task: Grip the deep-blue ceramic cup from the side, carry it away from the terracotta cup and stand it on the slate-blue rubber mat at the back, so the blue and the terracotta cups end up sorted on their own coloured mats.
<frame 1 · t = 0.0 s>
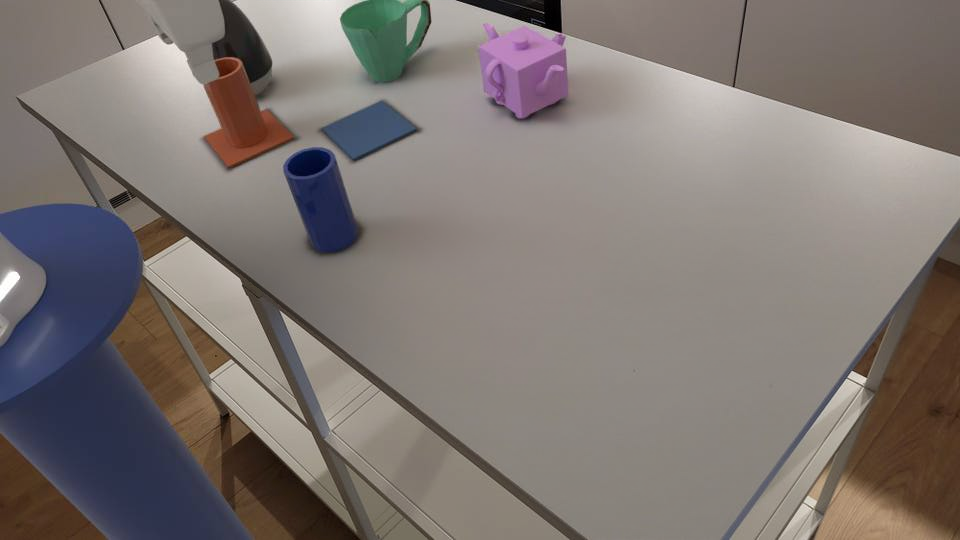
hand: (189, 58, 65), 29 cm above the table, tool pointing down, fingers open, 8 cm apart
teapot: (530, 100, 107), on the table
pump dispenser: (248, 92, 119), on the table
terracotta mat: (248, 138, 109), on the table
terracotta cup: (248, 136, 109), resting on terracotta mat
mug: (399, 68, 118), on the table
blue mat: (368, 130, 107), on the table
blue cup: (334, 236, 91), on the table
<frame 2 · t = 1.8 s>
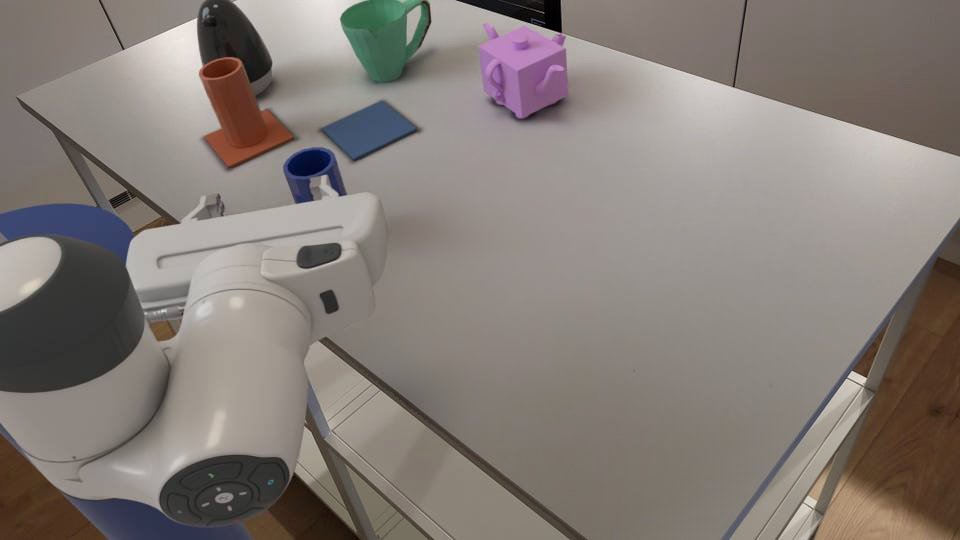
hand: (267, 191, 65), 20 cm above the table, tool horizontal, fingers open, 8 cm apart
nothing on the table moved.
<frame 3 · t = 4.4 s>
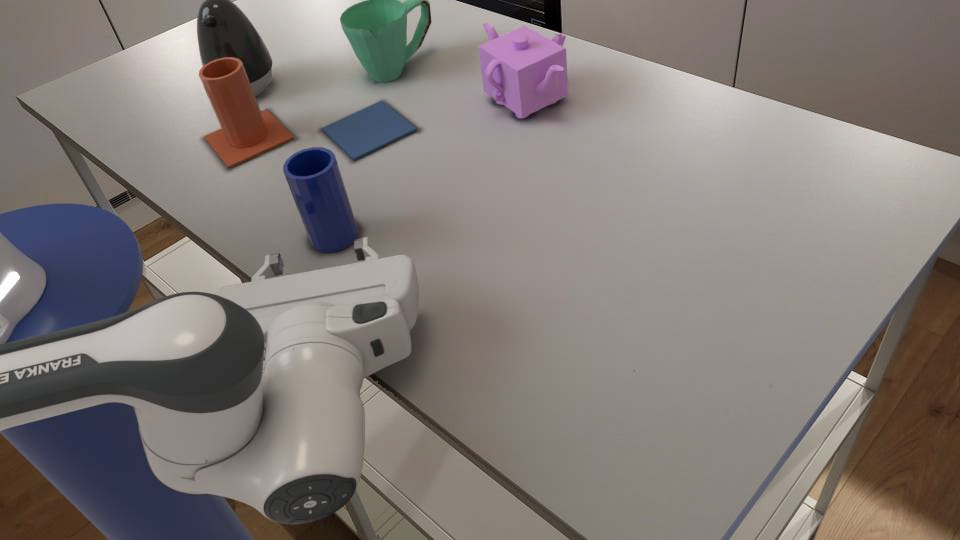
hand: (318, 250, 80), 6 cm above the table, tool horizontal, fingers open, 8 cm apart
nothing on the table moved.
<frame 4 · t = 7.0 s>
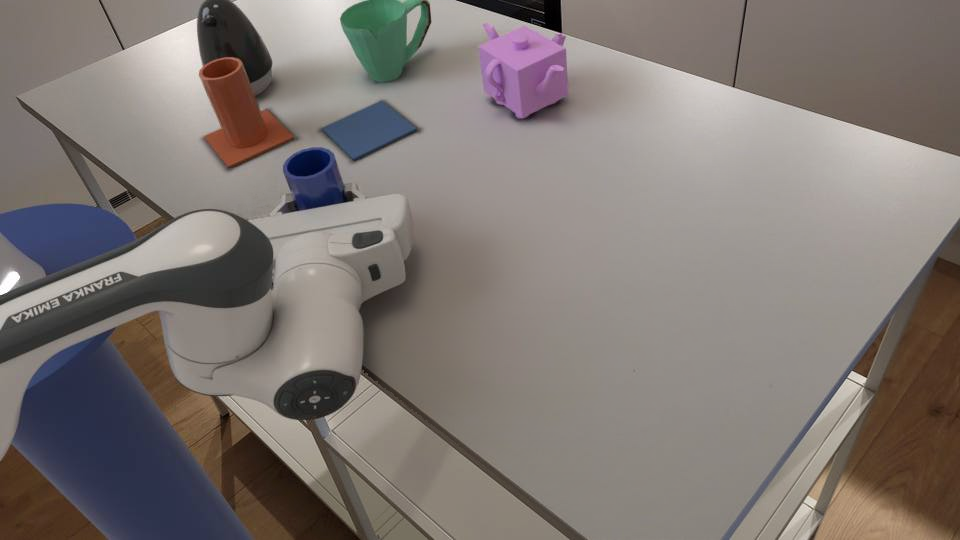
hand: (321, 192, 88), 6 cm above the table, tool horizontal, fingers closed on blue cup, 6 cm apart
blue cup: (334, 236, 91), on the table, touching gripper
everything else where it was.
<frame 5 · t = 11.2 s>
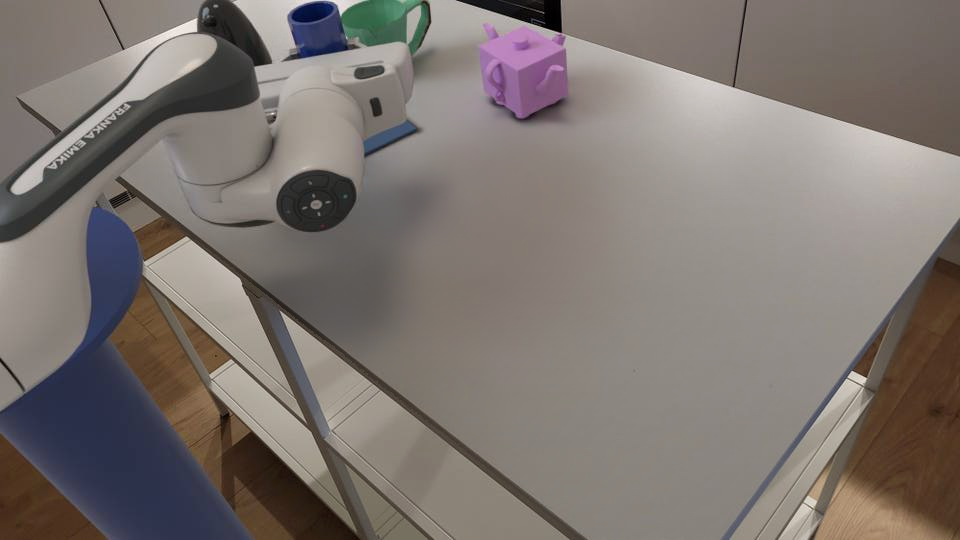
hand: (324, 48, 89), 17 cm above the table, tool horizontal, fingers closed on blue cup, 6 cm apart
blue cup: (337, 96, 93), point 11 cm above the table, touching gripper
everything else where it was.
when the fingers open (6 cm above the table, at t = 15.6 s): blue cup stays where it is, resting on blue mat.
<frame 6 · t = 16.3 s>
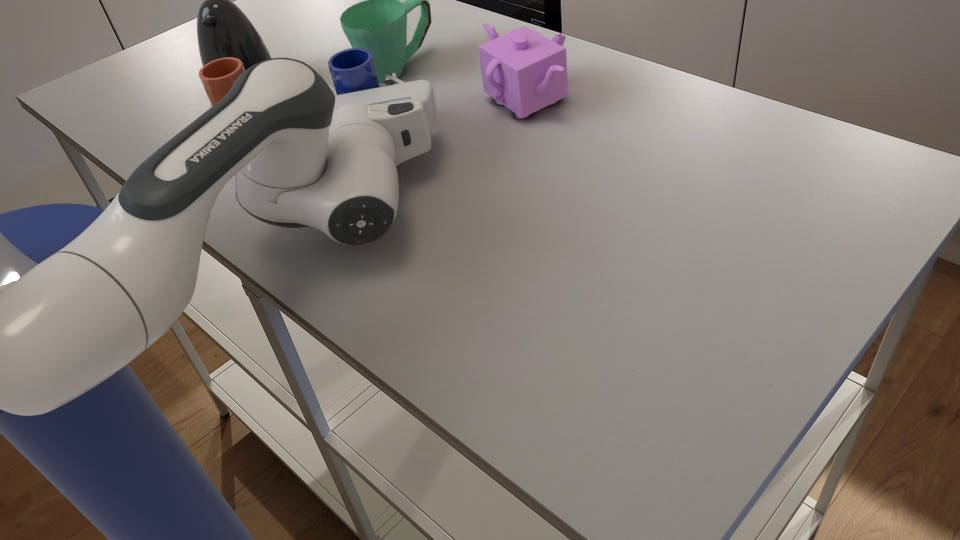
hand: (357, 84, 102), 7 cm above the table, tool horizontal, fingers open, 8 cm apart
blue cup: (368, 129, 106), resting on blue mat
everything else where it was.
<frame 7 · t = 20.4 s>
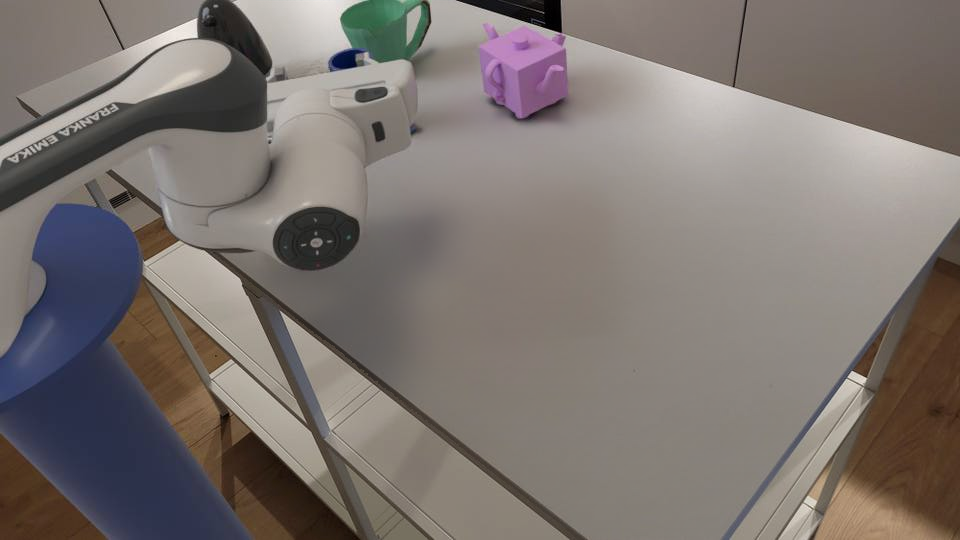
hand: (321, 66, 84), 18 cm above the table, tool horizontal, fingers open, 8 cm apart
nothing on the table moved.
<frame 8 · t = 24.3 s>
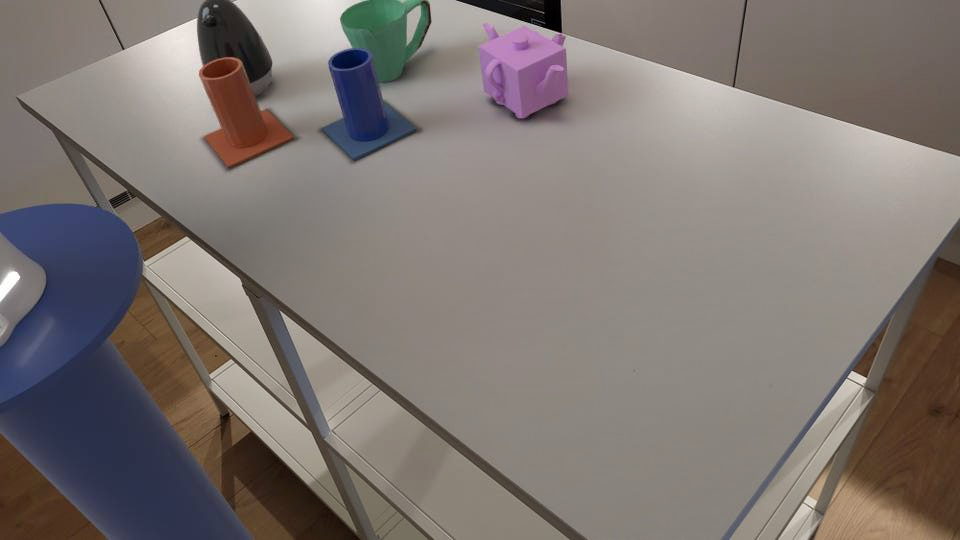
nothing on the table moved.
at the end: blue cup inside the target area on the blue mat (0.4 cm from its centre), point 0.4 cm above the blue mat's base; blue cup tilted 0°; terracotta cup inside the target area on the terracotta mat (0.0 cm from its centre), point 0.4 cm above the terracotta mat's base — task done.
